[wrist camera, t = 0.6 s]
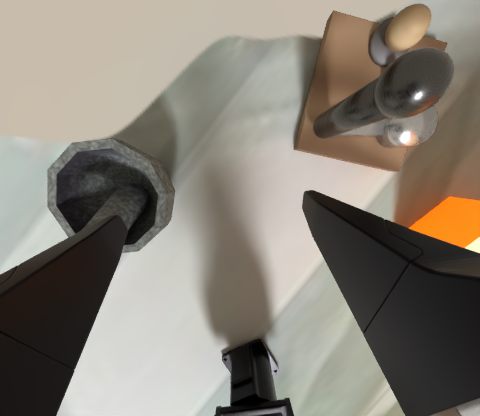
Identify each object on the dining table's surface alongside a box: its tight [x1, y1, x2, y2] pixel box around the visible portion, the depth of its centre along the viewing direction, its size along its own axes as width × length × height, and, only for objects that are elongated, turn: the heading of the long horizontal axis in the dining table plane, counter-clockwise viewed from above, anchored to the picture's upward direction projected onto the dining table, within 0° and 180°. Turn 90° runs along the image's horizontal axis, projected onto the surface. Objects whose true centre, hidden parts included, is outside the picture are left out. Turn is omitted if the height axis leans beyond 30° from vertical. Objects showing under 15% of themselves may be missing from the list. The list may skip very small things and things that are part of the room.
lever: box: [313, 47, 454, 148], centre depth 14 cm, size 4×12×12 cm, turn 90°
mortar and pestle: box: [48, 139, 175, 253], centre depth 16 cm, size 11×9×12 cm
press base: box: [294, 4, 447, 171], centre depth 18 cm, size 13×12×5 cm
